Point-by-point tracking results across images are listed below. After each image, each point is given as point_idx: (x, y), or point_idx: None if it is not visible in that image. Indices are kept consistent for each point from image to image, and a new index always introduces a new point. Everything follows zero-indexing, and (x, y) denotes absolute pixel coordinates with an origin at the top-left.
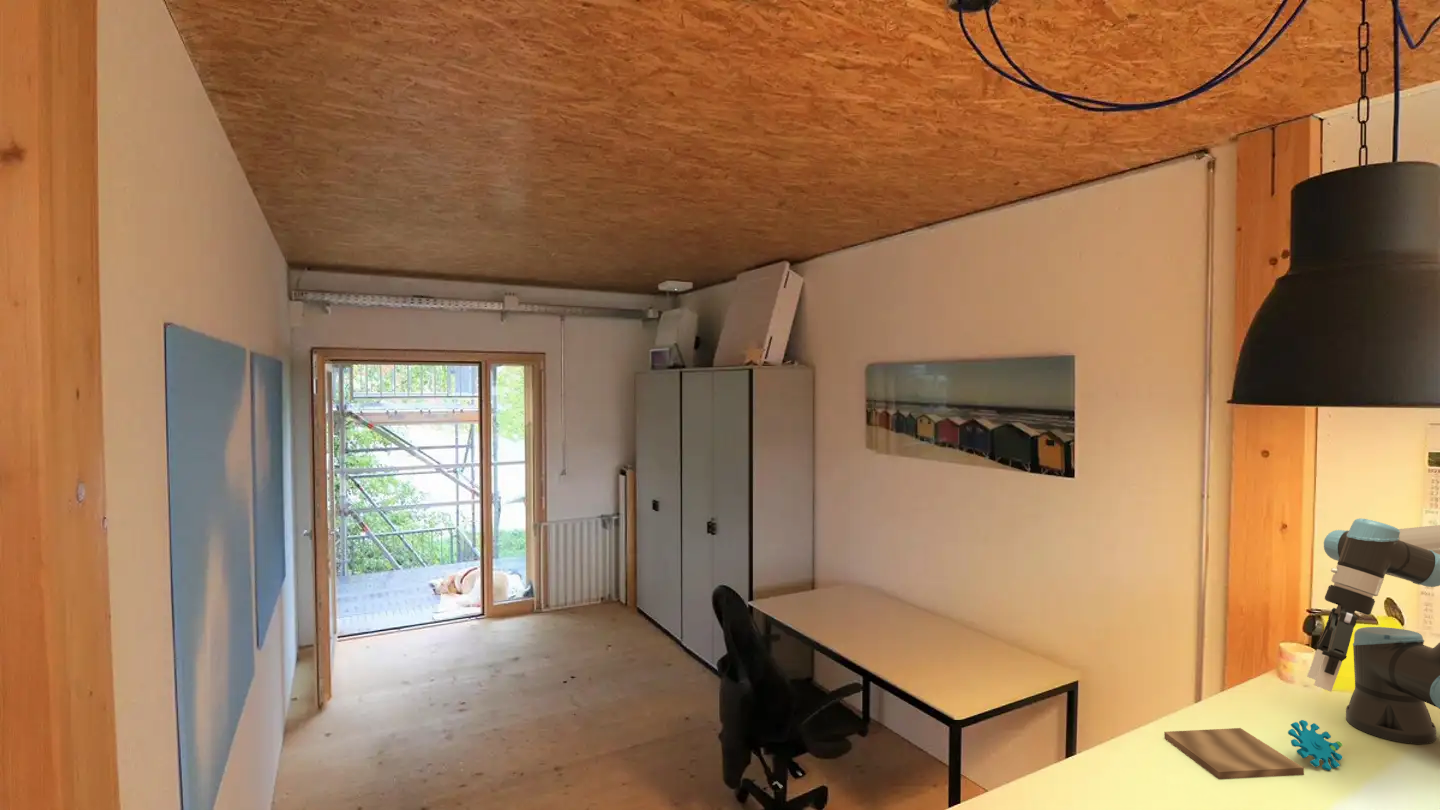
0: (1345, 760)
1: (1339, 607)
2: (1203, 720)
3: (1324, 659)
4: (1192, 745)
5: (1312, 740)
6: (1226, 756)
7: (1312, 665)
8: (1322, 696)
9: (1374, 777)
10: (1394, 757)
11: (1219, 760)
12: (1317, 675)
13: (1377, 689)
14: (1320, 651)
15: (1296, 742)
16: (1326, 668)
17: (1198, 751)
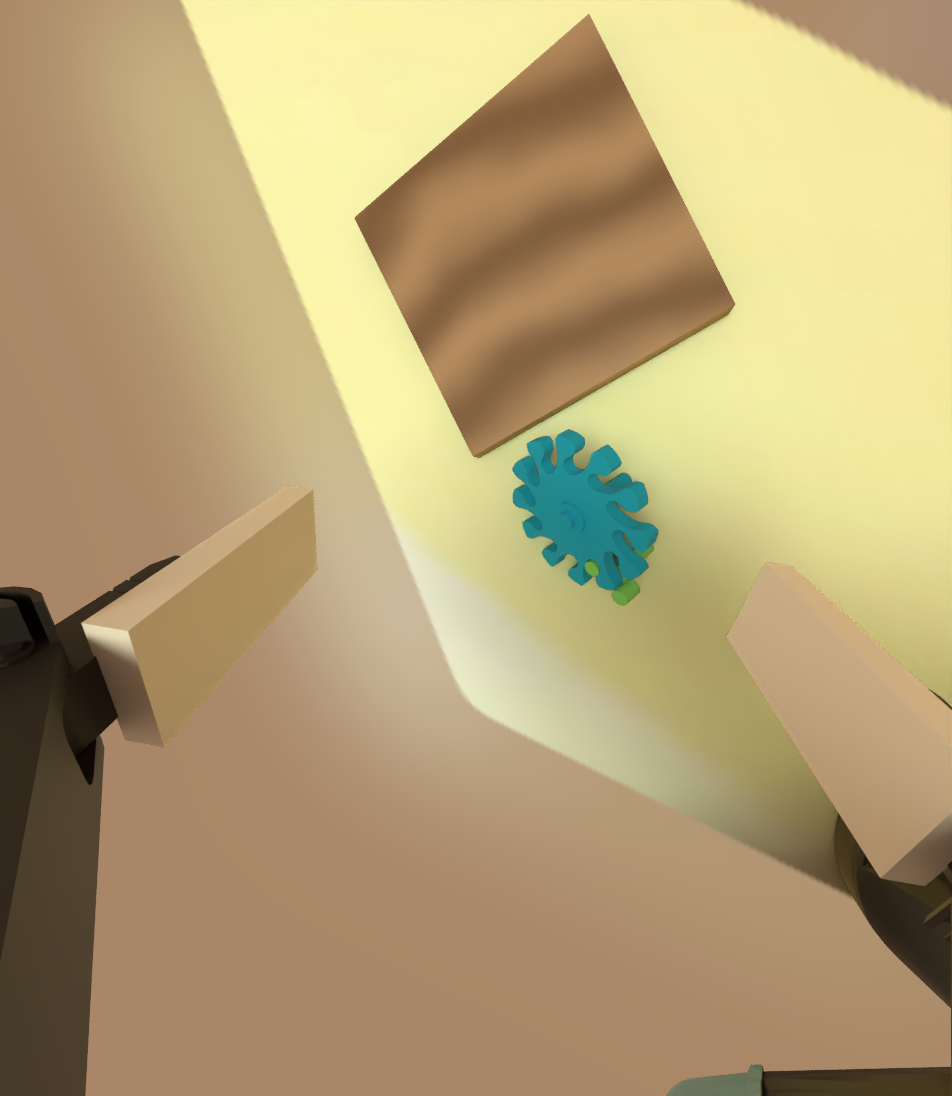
0: None
1: None
2: (839, 176)
3: (128, 599)
4: (504, 131)
5: (571, 507)
6: (461, 242)
7: (821, 626)
8: None
9: (534, 633)
10: (698, 745)
11: (426, 220)
12: (267, 516)
13: None
14: (948, 791)
15: (536, 451)
16: (139, 573)
17: (465, 154)
